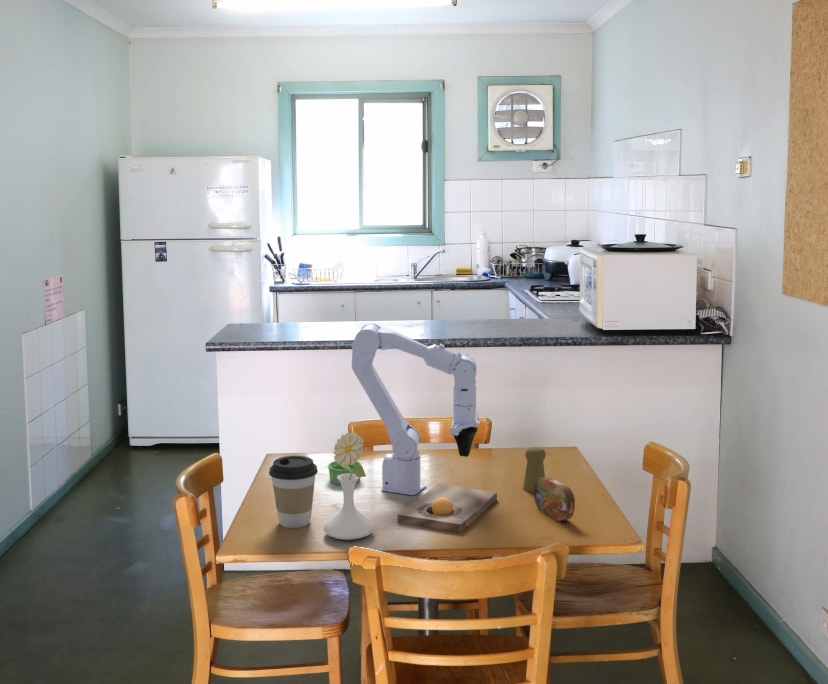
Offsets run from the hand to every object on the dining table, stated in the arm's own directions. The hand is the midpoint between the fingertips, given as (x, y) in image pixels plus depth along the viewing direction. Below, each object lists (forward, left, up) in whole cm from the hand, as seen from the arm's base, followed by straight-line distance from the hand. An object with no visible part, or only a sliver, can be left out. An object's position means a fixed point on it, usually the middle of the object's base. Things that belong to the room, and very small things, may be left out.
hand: (464, 455), depth 254 cm
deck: (+2, -15, -9) cm, 18 cm away
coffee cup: (-28, -37, -10) cm, 47 cm away
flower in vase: (-12, -39, -10) cm, 42 cm away
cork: (+16, +9, -10) cm, 21 cm away
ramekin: (-32, -5, -10) cm, 34 cm away
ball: (+2, -20, -7) cm, 21 cm away
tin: (+26, -7, -10) cm, 29 cm away
